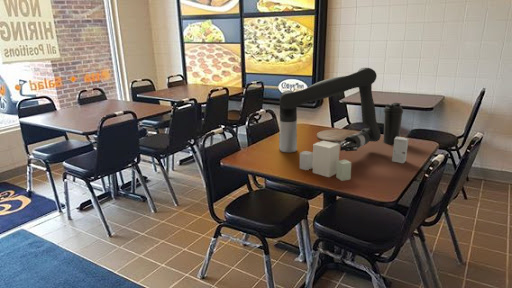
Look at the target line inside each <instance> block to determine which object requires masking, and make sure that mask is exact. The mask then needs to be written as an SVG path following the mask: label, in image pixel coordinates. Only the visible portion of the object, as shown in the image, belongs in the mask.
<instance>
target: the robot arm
mask: <svg viewBox="0 0 512 288" xmlns="http://www.w3.org/2000/svg"><path fill="white" fill-rule="evenodd" d="M377 78H378V77H377V72H376V71H375V70H374V69H373V68H371V67H361V68H359V70H357V71H355V72H353V73H351V74H347V75H343V76H335V77H331V78H327V79H324V80H321V81H318V82H315V83H313V84H311V85H309V86H307V87H306V88H304V89H300V90H295V91H292V90H284V91H283V92H281V94H280V95H279V133H278V143H279V144H278V145H279V146H278V147H279V148H278V149H279V150H280V151H281V152H282V153H294V152H296V151H297V150H298V148H297V147H298V145H297V142H298V139H297V137H298V134H297V133H298V131H297V130H298V129H297V127H298V126H297V125H298V124H297V123H298V122H297V121H298V117H297V115H298V113H297V112H298V111H297V110H298V109H297V107H300V106H302V105H305V104H306V103H310V102H315V101H319V100H323V99H327V98H330V97H333V96H335V95H339V94H342V93H344V92H347V91H349V90H352V89H356V88H358V90H359V97H360V98H359V99H360V105H361V109H360V110H361V121H362V124H363V125H365V126H368V127H369V128H367V127H366V128H362V129H361V130H360V131H359V132H357V133H356V134H353V135H351V136H348V137H346V138H345V140H344V141H341V142H340V143H338V142H337V141H335V143H337V144H339V146H340V152H356V151H358V149H360V148H361V147H363V146H365V145H367V144H368V143H369V142H371V143H372V142H373V143H374V142H378V141H380V139H381V134H382V133H381V130H380V127H379V125H378V122H377V115H376V107H375V101H374V98H373V92H372V86H373V84H374V83H375V82H376V80H377Z"/></svg>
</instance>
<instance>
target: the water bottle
mask: <svg viewBox="0 0 512 288" xmlns="http://www.w3.org/2000/svg"><path fill="white" fill-rule="evenodd" d="M401 105H402V103H399V102H393V103H387V104H386V105H385V107H384V109H383V112H384V116H383V118H384V120H383V143H384V144H387V145H394V139H395V138H396V137H401V136H400V135H401V127H402V117H403V114H404V109H403V107H402V106H401Z"/></svg>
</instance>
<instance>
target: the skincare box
mask: <svg viewBox="0 0 512 288" xmlns="http://www.w3.org/2000/svg"><path fill="white" fill-rule="evenodd" d="M409 140H410V139H409V138H407V137H401V136H399V137H396V138H395V139H394V144H393V148H392V157H391V162H394V163H399V164H405V163H406V161H407V154H408V147H409Z"/></svg>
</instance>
